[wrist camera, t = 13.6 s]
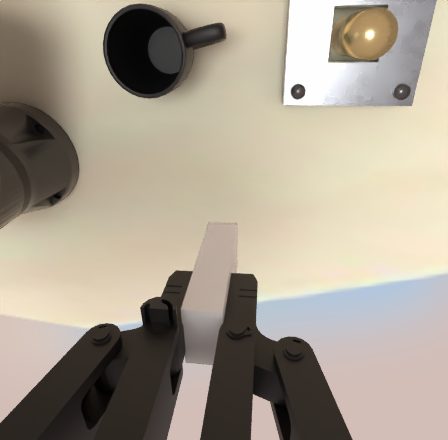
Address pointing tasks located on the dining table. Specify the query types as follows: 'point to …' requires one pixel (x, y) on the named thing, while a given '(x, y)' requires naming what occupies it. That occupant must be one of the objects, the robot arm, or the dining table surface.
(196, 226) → the dining table surface
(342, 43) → the brass cylinder
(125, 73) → the mug
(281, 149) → the dining table surface
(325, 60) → the jig
